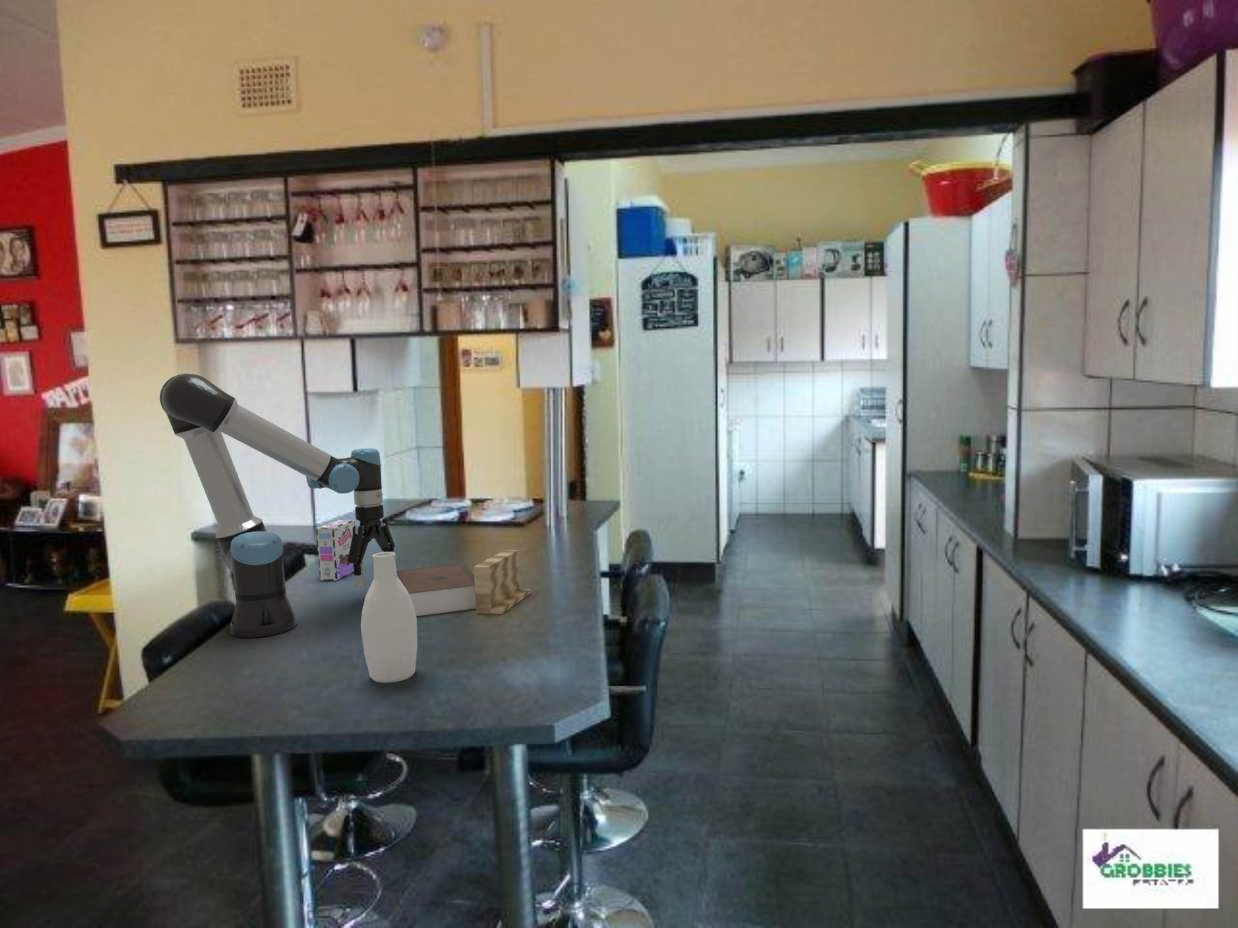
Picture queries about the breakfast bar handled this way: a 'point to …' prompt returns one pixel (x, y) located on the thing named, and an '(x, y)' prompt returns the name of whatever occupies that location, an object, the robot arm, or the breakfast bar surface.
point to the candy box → (335, 549)
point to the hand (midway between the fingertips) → (373, 580)
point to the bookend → (498, 583)
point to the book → (440, 588)
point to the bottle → (388, 624)
